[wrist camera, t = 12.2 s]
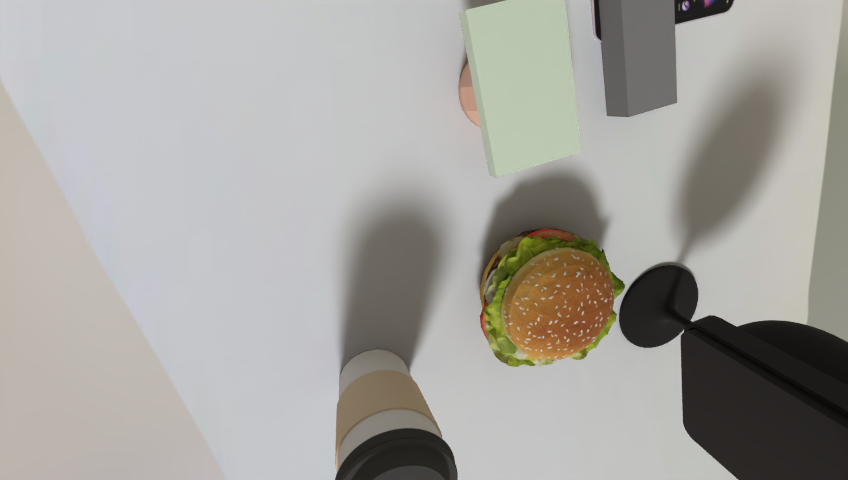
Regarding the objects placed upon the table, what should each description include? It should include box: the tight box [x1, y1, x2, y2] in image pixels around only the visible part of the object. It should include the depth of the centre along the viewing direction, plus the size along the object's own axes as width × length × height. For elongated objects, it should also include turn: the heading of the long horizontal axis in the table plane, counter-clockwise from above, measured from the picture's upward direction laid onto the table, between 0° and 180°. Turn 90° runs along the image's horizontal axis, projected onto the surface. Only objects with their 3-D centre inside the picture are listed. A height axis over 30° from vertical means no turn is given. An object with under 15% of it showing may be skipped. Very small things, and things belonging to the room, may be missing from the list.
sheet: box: [459, 0, 582, 178], centre depth 33 cm, size 12×8×1 cm, turn 14°
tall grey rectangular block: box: [599, 0, 677, 117], centre depth 38 cm, size 10×5×3 cm, turn 14°
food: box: [480, 229, 625, 367], centre depth 41 cm, size 14×14×8 cm
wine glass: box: [619, 265, 848, 385], centre depth 40 cm, size 10×10×20 cm
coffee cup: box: [335, 349, 458, 480], centre depth 36 cm, size 9×9×15 cm
